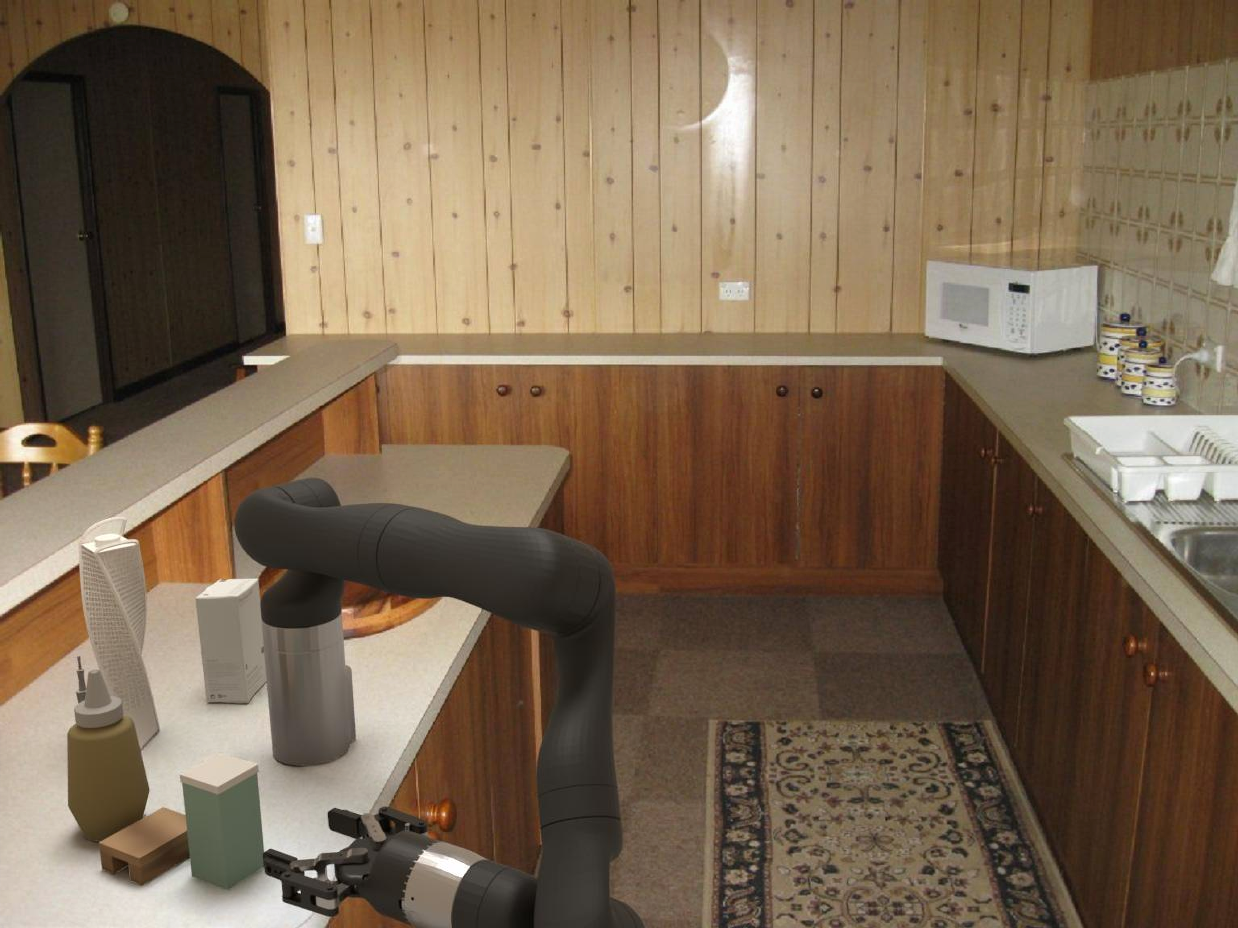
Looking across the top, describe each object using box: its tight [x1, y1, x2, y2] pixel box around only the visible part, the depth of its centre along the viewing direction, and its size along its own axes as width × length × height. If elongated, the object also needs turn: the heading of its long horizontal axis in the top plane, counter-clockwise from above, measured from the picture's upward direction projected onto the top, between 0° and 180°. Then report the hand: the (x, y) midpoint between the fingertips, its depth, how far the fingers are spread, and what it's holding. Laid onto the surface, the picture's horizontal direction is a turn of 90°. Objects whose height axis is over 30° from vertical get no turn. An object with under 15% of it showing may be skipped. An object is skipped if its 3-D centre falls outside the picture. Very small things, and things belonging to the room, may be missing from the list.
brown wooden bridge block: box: [98, 806, 190, 886], centre depth 127 cm, size 8×6×3 cm
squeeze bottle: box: [66, 669, 151, 842], centre depth 131 cm, size 8×8×18 cm
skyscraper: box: [75, 516, 161, 751], centre depth 150 cm, size 8×8×28 cm
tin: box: [179, 752, 265, 892], centre depth 123 cm, size 5×5×11 cm
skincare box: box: [195, 578, 267, 704], centre depth 165 cm, size 8×6×15 cm
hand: (298, 838), depth 118 cm, fingers open, 8 cm apart
